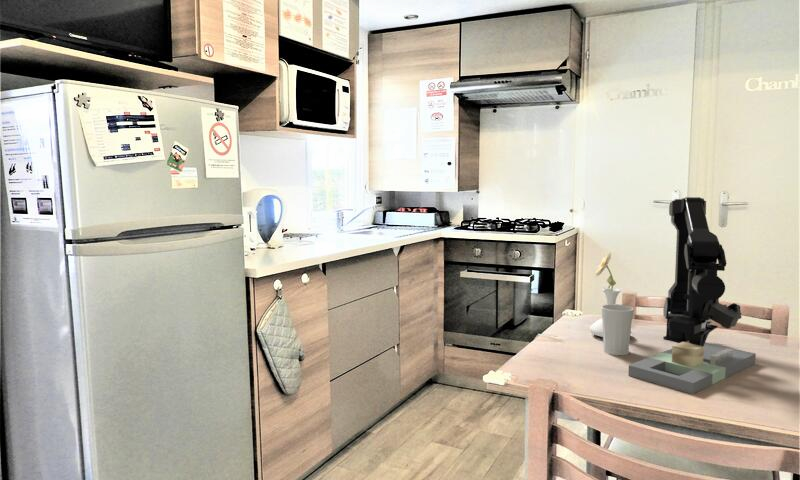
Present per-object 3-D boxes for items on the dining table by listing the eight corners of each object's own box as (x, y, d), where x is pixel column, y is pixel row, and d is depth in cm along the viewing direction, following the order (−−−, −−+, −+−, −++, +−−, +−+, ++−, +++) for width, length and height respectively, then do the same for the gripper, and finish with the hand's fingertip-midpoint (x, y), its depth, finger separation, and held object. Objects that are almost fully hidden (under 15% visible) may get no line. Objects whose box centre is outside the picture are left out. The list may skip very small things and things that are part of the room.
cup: (636, 351, 156) (638, 307, 155) (624, 358, 150) (626, 312, 149) (607, 345, 161) (609, 302, 160) (594, 352, 156) (596, 307, 154)
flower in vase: (596, 328, 178) (599, 247, 175) (635, 334, 172) (639, 250, 169) (582, 339, 168) (584, 252, 165) (623, 345, 161) (626, 255, 158)
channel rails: (671, 354, 145) (672, 346, 145) (689, 347, 151) (689, 339, 150) (715, 365, 137) (715, 356, 137) (732, 357, 143) (732, 349, 142)
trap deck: (628, 375, 138) (628, 365, 138) (694, 349, 157) (694, 340, 157) (692, 394, 126) (693, 383, 126) (755, 363, 146) (755, 353, 145)
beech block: (671, 361, 140) (672, 345, 139) (682, 357, 143) (682, 341, 142) (693, 367, 136) (693, 350, 135) (703, 362, 139) (704, 346, 138)
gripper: (717, 302, 129) (713, 371, 131) (753, 291, 140) (749, 354, 142) (668, 294, 138) (665, 358, 139) (706, 284, 149) (703, 343, 151)
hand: (697, 354), depth 143 cm, fingers closed
